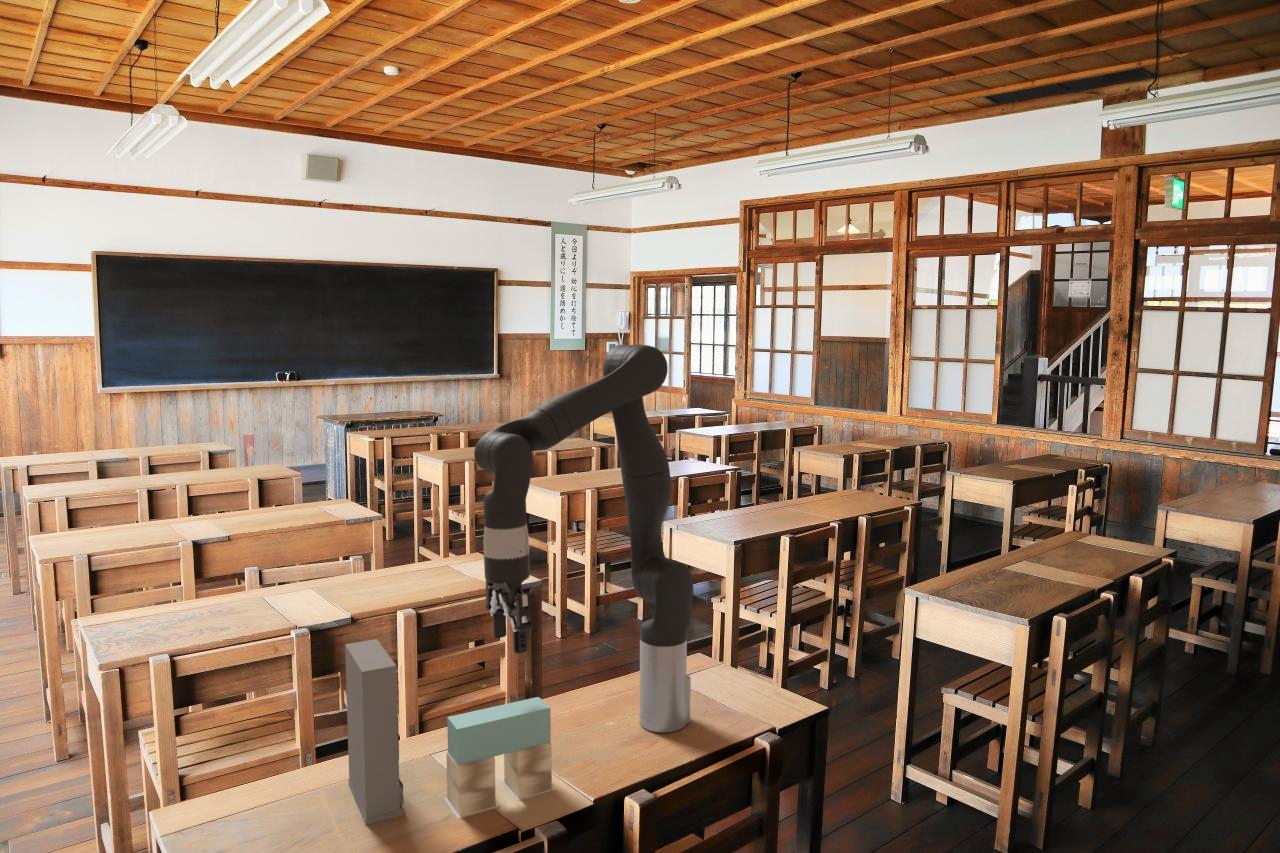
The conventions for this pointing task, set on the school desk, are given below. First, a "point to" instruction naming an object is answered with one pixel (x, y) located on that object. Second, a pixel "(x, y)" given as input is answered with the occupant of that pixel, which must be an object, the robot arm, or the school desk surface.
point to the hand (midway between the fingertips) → (509, 644)
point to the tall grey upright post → (373, 731)
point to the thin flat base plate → (496, 802)
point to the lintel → (498, 730)
